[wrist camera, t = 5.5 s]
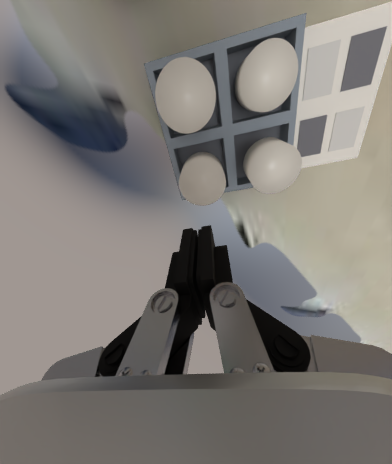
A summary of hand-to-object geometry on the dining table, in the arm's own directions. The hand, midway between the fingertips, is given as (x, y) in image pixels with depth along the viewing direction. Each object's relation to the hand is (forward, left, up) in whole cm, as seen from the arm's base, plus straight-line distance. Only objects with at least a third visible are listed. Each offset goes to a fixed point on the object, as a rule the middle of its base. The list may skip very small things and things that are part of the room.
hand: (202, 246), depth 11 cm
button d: (0, +7, -15) cm, 17 cm away
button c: (0, 0, -15) cm, 15 cm away
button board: (-4, +4, -18) cm, 19 cm away
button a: (-8, 0, -15) cm, 17 cm away
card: (-4, +16, -18) cm, 25 cm away
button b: (-8, +7, -18) cm, 21 cm away
